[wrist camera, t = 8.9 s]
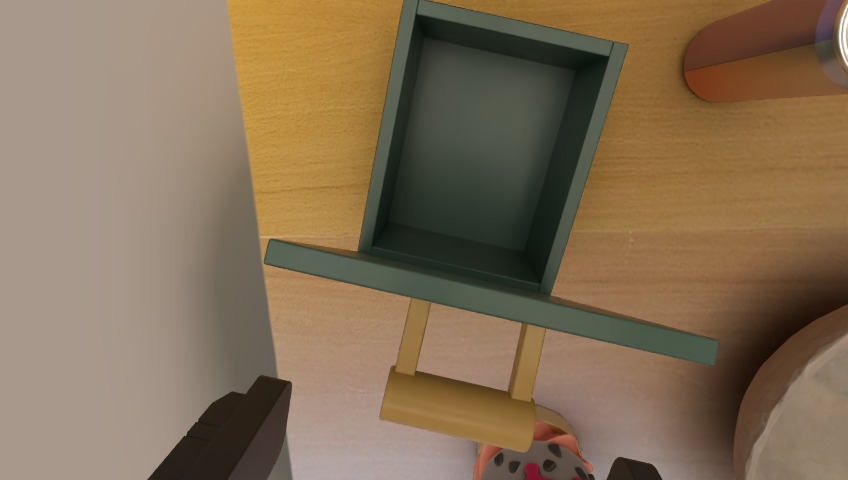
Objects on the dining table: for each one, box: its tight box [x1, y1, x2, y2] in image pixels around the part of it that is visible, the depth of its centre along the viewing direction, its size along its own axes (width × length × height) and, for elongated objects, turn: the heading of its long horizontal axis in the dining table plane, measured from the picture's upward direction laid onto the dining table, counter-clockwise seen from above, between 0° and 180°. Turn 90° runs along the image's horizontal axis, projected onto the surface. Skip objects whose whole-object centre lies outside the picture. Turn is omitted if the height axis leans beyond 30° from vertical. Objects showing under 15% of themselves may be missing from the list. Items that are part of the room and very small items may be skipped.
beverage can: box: [684, 0, 848, 102], centre depth 28 cm, size 6×6×15 cm
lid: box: [264, 239, 719, 453], centre depth 22 cm, size 18×14×5 cm
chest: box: [357, 0, 628, 295], centre depth 34 cm, size 17×14×9 cm
